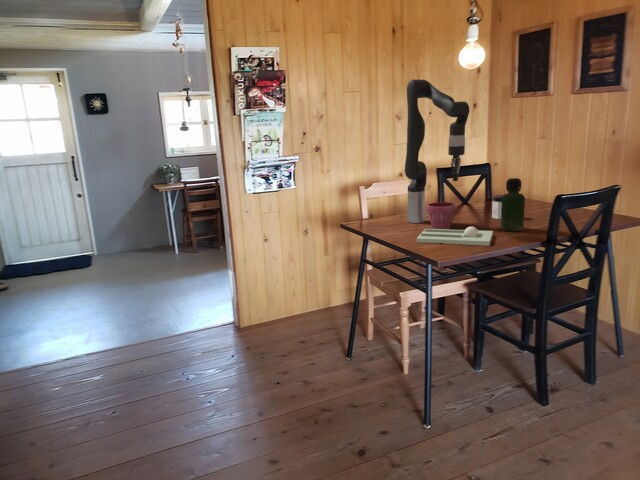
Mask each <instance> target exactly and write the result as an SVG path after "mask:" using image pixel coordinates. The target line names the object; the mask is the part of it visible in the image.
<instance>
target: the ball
mask: <svg viewBox="0 0 640 480" xmlns="http://www.w3.org/2000/svg"><path fill="white" fill-rule="evenodd" d="M464 230H465V232H464V234H465V236H466V237H475V238H476V237H477V235H478V231H479V230H478V228H476V227H474V226H468V227H466V228H465V229H464ZM477 230H478V231H477Z"/></svg>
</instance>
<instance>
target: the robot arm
mask: <svg viewBox="0 0 640 480" xmlns="http://www.w3.org/2000/svg"><path fill="white" fill-rule="evenodd" d="M423 98H425V99H429V100H431V101H432V104H433V105H434V106H435V107H437V108H438V109H440V110H442V111H443V112H444V113H445V115H447V117H450V118H456V120H455V121H454V122H451V123H450V125H449V136H448V137H449V138H448V152H447V153H448V155H449V156H452V158H451V161H450V165H451V173H452V181H453V182H457V181H458V180H459V173H460V169H461V162H462V158H461V156H464V155H465V149H466V148H465V147H466V136H465V135H466V124H467V121H468V119H469V115H470V105H469V103H468V102H466V101H455V99H454V98H453V96H450V95H449V94H446V93H444V92H443V91H440V90H439V89H438V88H436V87H435V86H434V85H433V84H432V83H430V82H429V81H428V80H426V79H410V80H409V81H408V83H407V86H406V103H407V126H406V128H407V129H406V155H405V164H404V175H405V176H406V178H407V179H409V180H411V182H410V183H409V184H408V185H407V205H406V222H407V223H413V224H419V223H425V222H426V209H425V208H426V207H425V206H426V203H425V202H426V194H425V193H426V185H427V170H428V169H427V167H426V166H427V165H426V163H425V162H424V161H421V160H419V154H420V150H421V149H422V146H423V142H424V140H425V137H426V136H425V134H426V123H425V120H424V118H423V115H422V114H421V112H420V109H419V101H418V99H423Z"/></svg>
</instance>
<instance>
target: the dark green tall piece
mask: <svg viewBox="0 0 640 480" xmlns="http://www.w3.org/2000/svg"><path fill="white" fill-rule="evenodd" d="M505 189H506V192H507V193H505V194H502V195H503V196H502V207H501V219H500V229H501V230H502V231H505V232H521V231H524V228H525V226H524V225H525V205H526V198H525V196H524V194H522V193H520V192H521V190H522V179H520V178H517V177H515V178H514V177H513V178H512V177H511V178H508V179H507V180H506V183H505Z"/></svg>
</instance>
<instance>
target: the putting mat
mask: <svg viewBox="0 0 640 480" xmlns="http://www.w3.org/2000/svg"><path fill="white" fill-rule="evenodd" d="M465 230H466V229H432V228H424V229H423V231H422V232H421V233H420V234H419V235H418V236H417V237H416V243H417V244H418V243H423V244H439V243H443V244H444V245H460V244H461V245H463V246H469V245H470V246H484V247H488V246H489V247H490V245H491V241H492V240H493V239H492V238H493V235H494V231H493V230H478V229H477V231H478V235H477V237H476V238H475V237H466V236H465V234H464V232H465ZM443 244H442V245H443ZM461 245H460V246H461Z"/></svg>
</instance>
